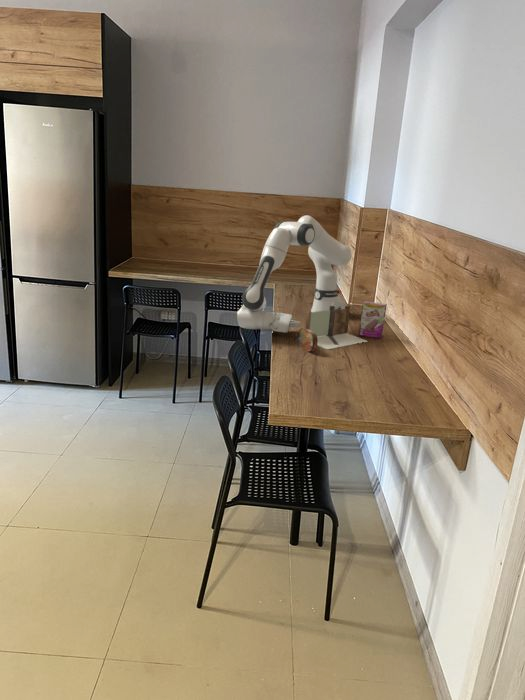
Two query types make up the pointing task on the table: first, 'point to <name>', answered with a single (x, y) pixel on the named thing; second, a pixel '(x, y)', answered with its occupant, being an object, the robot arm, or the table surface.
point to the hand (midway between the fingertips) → (300, 324)
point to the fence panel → (318, 322)
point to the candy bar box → (372, 319)
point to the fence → (338, 320)
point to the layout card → (338, 341)
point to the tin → (307, 339)
